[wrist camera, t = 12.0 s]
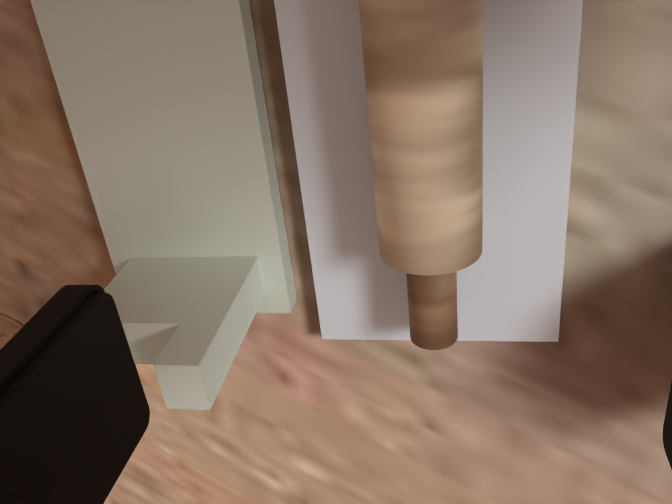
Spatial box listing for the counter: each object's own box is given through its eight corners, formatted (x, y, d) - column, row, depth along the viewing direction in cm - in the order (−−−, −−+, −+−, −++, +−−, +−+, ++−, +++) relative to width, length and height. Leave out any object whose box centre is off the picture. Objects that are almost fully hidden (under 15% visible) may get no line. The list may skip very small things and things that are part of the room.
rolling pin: (380, -298, 23) (301, -323, 20) (507, -338, 21) (442, -375, 17) (414, 301, 36) (369, 348, 32) (497, 322, 33) (457, 376, 30)
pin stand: (207, -262, 25) (60, -353, 16) (296, 298, 37) (244, 433, 28) (-17, -222, 27) (-266, -282, 18) (138, 298, 39) (39, 424, 30)
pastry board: (606, -410, 21) (613, -426, 20) (555, 328, 35) (558, 341, 34) (234, -336, 24) (224, -346, 23) (325, 326, 38) (322, 339, 37)
